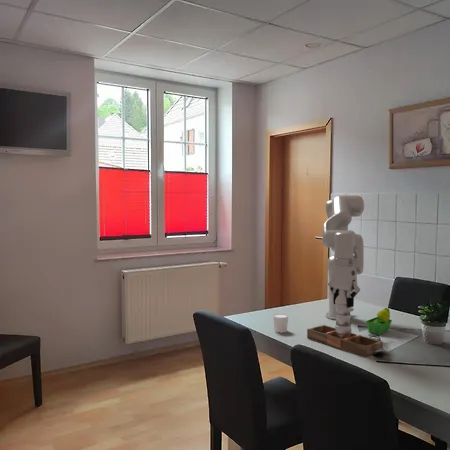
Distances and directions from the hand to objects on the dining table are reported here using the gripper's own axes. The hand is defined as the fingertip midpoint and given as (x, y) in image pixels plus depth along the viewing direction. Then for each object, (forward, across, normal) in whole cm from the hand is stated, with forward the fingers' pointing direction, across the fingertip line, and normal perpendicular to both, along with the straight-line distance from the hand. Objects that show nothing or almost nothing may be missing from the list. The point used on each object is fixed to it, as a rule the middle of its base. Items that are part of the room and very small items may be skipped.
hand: (343, 304), depth 189 cm
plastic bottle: (+13, 0, 0) cm, 13 cm away
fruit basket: (+17, +2, -28) cm, 33 cm away
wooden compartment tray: (+17, 0, 0) cm, 17 cm away
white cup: (+17, +30, +7) cm, 35 cm away
